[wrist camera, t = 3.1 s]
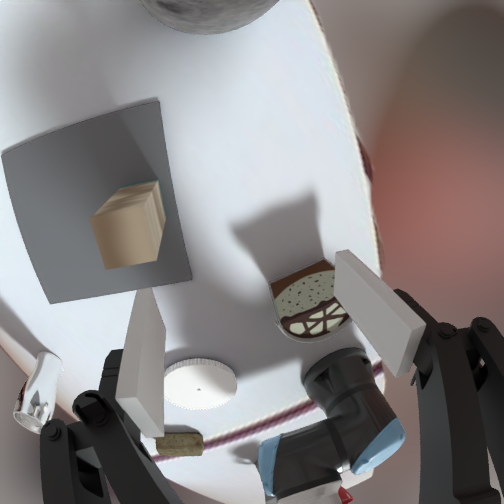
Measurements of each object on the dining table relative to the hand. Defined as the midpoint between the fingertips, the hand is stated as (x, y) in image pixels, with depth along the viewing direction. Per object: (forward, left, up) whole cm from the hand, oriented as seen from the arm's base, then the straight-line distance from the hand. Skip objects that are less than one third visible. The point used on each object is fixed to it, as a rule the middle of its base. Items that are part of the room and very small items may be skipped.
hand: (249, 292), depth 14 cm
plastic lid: (+9, +34, -24) cm, 43 cm away
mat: (+17, 0, -24) cm, 29 cm away
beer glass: (+37, +25, -24) cm, 51 cm away
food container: (-11, +17, -24) cm, 31 cm away
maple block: (+9, 0, -23) cm, 25 cm away
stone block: (+19, +56, -24) cm, 63 cm away
